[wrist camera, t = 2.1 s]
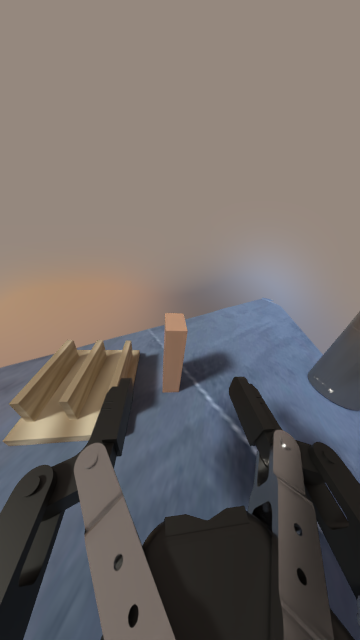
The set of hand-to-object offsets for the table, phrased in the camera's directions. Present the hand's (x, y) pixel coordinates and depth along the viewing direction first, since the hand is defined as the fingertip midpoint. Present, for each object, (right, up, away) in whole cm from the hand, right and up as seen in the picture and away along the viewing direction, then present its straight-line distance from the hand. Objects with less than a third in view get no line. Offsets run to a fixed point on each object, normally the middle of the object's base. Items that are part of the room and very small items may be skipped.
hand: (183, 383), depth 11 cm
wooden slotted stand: (-16, -7, +15) cm, 23 cm away
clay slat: (-2, -7, +17) cm, 19 cm away
